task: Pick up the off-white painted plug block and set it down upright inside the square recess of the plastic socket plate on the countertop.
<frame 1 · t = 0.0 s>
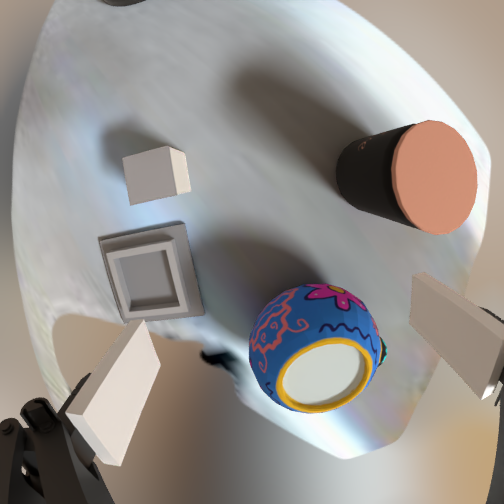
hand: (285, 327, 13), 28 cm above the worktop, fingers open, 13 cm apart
socket plate: (151, 276, 41), on the worktop
plug block: (169, 176, 38), on the worktop
ceramic pot: (304, 320, 44), on the worktop
coffee jar: (366, 175, 38), on the worktop
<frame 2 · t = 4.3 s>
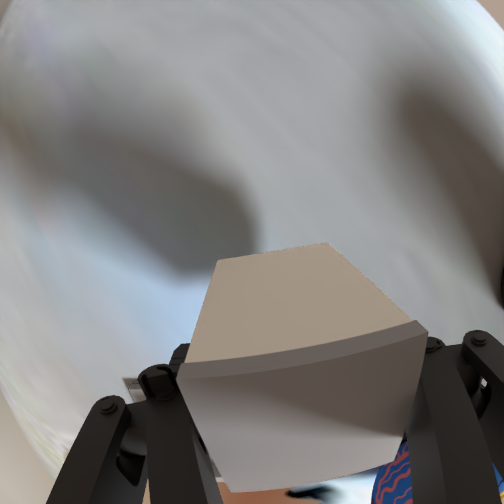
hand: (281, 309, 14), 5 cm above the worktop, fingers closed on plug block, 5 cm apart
socket plate: (226, 434, 22), on the worktop
plug block: (280, 301, 15), point 4 cm above the worktop, touching gripper
ceramic pot: (419, 442, 25), on the worktop
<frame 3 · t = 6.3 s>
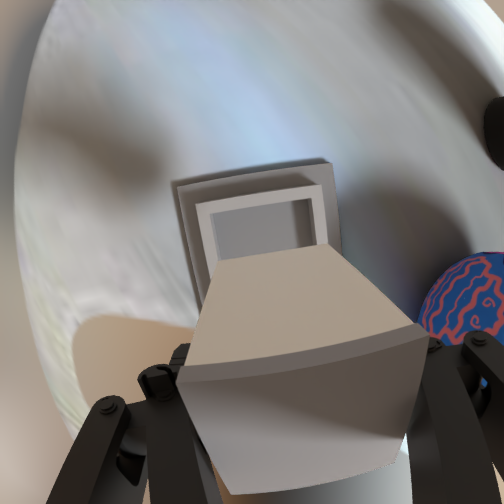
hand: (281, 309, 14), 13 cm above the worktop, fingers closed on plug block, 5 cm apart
socket plate: (266, 247, 27), on the worktop
plug block: (280, 302, 15), point 12 cm above the worktop, touching gripper
ceramic pot: (448, 304, 29), on the worktop
coffee jar: (502, 136, 23), on the worktop
when the fingers open (3 cm above the worktop, at t = 8.6 s): plug block drops 2 cm, resting on socket plate.
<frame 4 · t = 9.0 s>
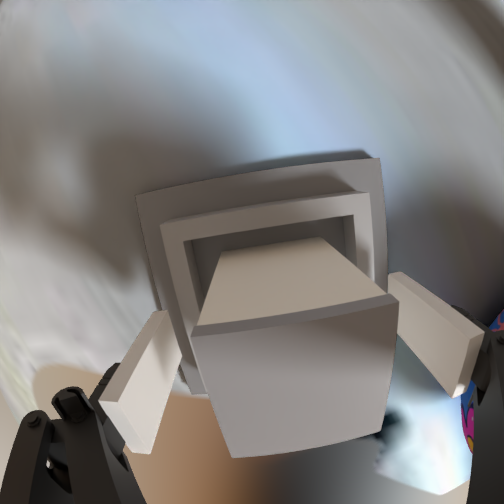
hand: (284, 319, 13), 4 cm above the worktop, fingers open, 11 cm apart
socket plate: (276, 288, 17), on the worktop
plug block: (277, 290, 16), point 1 cm above the worktop, touching socket plate
ceramic pot: (495, 342, 20), on the worktop
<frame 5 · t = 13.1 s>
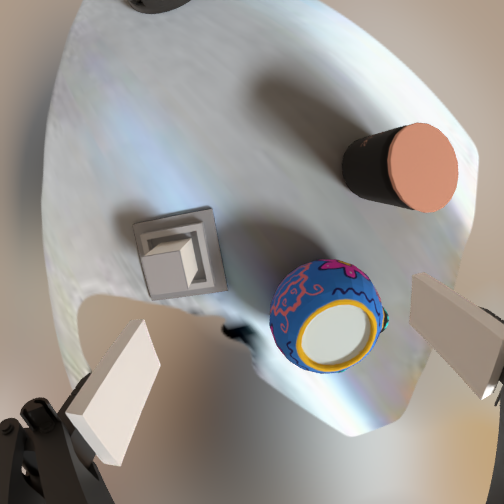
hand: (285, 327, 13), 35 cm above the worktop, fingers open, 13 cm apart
socket plate: (180, 256, 48), on the worktop
plug block: (178, 256, 47), point 1 cm above the worktop, touching socket plate
ceramic pot: (315, 295, 50), on the worktop
coffee jar: (367, 168, 44), on the worktop
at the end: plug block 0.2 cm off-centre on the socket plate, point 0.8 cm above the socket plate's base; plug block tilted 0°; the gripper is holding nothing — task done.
